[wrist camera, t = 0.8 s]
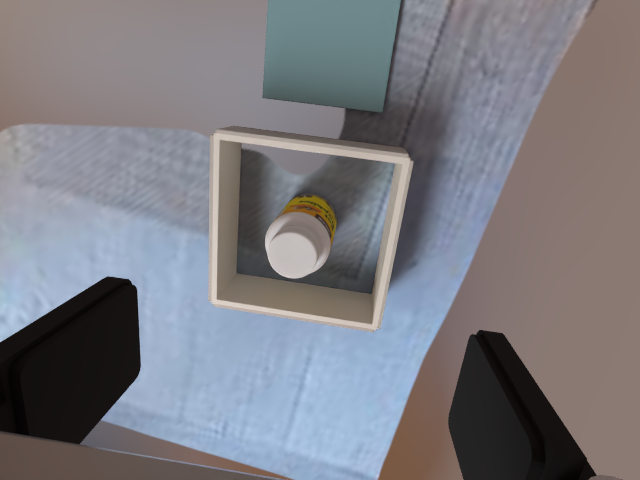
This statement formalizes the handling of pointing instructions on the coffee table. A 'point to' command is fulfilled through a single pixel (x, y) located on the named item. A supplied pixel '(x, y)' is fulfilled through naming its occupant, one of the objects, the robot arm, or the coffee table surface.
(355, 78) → the mat
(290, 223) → the supplement bottle
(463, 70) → the coffee table surface
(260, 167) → the coffee table surface
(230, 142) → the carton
